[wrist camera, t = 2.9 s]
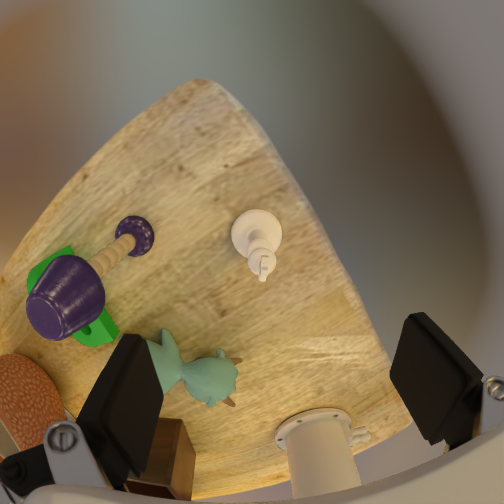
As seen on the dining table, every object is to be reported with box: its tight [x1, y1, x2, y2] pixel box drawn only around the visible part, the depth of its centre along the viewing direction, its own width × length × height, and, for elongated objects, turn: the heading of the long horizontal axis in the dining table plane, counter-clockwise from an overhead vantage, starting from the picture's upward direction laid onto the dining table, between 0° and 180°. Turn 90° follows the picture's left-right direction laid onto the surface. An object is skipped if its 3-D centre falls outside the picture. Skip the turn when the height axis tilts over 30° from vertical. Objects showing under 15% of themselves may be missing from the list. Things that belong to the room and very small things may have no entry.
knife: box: [64, 408, 76, 422], centre depth 37 cm, size 19×2×1 cm, turn 178°
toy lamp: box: [26, 216, 154, 341], centre depth 19 cm, size 5×5×17 cm
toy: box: [114, 328, 242, 407], centre depth 28 cm, size 9×10×15 cm
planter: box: [0, 354, 65, 459], centre depth 25 cm, size 17×17×15 cm
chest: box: [125, 418, 196, 501], centre depth 31 cm, size 12×13×12 cm
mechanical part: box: [27, 245, 120, 347], centre depth 25 cm, size 12×6×8 cm, turn 23°
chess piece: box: [231, 209, 282, 282], centre depth 22 cm, size 5×5×10 cm
